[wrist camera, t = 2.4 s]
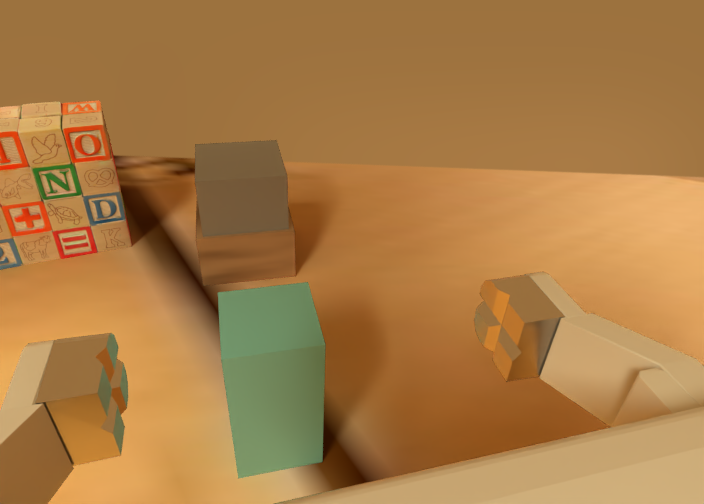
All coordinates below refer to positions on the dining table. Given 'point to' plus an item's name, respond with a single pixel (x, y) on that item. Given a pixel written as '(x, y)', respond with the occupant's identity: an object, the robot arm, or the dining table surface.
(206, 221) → the tower top
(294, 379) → the teal pillar
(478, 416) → the dining table surface
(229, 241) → the tower base
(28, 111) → the stack of blocks
